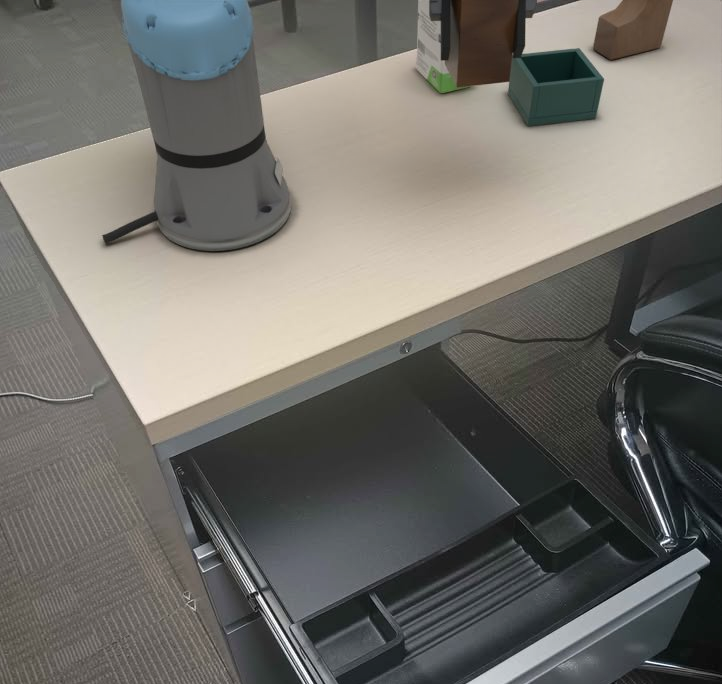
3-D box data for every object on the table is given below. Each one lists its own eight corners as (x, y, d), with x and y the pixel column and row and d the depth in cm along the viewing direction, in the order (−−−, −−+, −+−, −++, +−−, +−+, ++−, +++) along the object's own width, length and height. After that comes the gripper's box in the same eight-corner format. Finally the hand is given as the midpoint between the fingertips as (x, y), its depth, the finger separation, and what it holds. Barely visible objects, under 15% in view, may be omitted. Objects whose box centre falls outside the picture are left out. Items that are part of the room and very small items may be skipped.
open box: (527, 126, 98) (533, 86, 94) (507, 93, 103) (512, 54, 99) (595, 118, 98) (604, 78, 94) (572, 86, 104) (579, 47, 100)
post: (456, 88, 77) (464, -38, 68) (444, 64, 80) (450, -59, 71) (509, 82, 77) (524, -44, 68) (495, 58, 80) (507, -65, 72)
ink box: (472, 88, 105) (480, -9, 95) (439, 94, 104) (444, -2, 94) (446, 62, 110) (451, -32, 100) (414, 69, 109) (416, -26, 99)
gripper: (578, -185, 74) (573, 66, 77) (380, -176, 75) (382, 72, 78) (599, -248, 67) (593, 32, 70) (379, -238, 68) (381, 39, 70)
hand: (482, 52), depth 74 cm, fingers closed on post, 6 cm apart
